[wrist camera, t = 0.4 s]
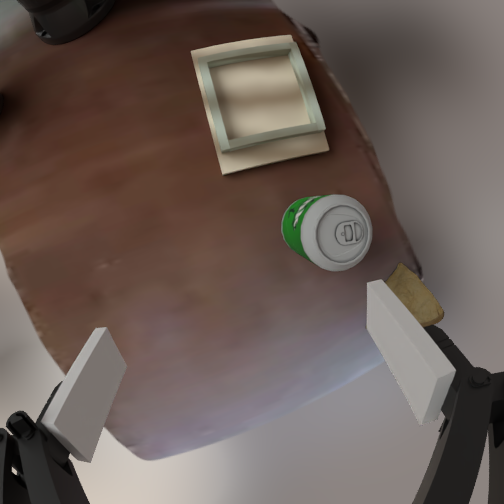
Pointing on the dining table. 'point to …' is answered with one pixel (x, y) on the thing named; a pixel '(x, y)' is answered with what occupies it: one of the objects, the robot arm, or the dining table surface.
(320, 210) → the soda can
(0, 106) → the coffee mug
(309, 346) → the dining table surface
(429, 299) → the rock
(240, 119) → the stand
